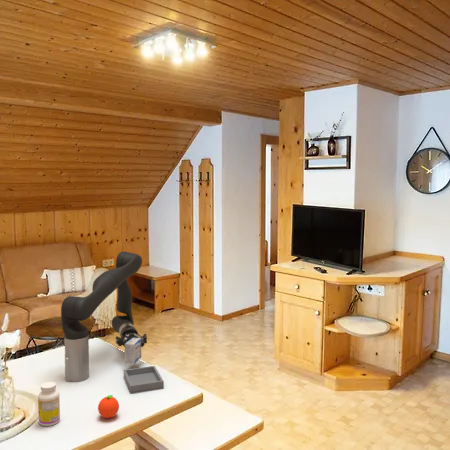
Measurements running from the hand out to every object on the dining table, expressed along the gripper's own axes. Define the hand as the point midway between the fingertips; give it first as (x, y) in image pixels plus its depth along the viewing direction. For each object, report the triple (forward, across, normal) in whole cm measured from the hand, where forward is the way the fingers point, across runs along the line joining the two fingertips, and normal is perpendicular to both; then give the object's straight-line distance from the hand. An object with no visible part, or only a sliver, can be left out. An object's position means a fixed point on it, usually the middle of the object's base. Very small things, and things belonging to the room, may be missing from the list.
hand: (135, 345), depth 201 cm
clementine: (+38, -16, +10) cm, 43 cm away
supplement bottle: (+35, -35, +10) cm, 51 cm away
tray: (+16, 0, +9) cm, 19 cm away
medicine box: (+1, -1, +6) cm, 6 cm away
